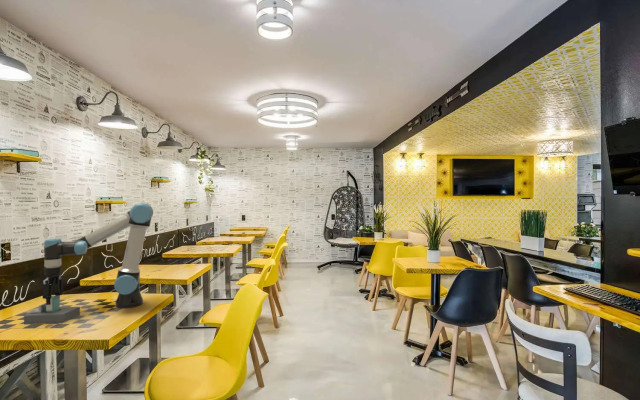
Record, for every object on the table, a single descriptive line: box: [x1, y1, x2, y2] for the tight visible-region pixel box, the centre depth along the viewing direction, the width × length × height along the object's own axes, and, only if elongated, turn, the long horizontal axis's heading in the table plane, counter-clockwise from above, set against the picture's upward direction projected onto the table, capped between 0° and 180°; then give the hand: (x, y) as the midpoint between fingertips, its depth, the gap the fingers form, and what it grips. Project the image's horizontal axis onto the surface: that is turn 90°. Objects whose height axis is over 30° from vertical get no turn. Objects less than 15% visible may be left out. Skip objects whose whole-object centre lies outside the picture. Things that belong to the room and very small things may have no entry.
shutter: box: [26, 302, 46, 314], centre depth 190 cm, size 8×8×4 cm
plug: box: [47, 295, 61, 313], centre depth 190 cm, size 4×4×11 cm
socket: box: [23, 306, 81, 325], centre depth 190 cm, size 20×14×4 cm
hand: (53, 308), depth 190 cm, fingers open, 5 cm apart
